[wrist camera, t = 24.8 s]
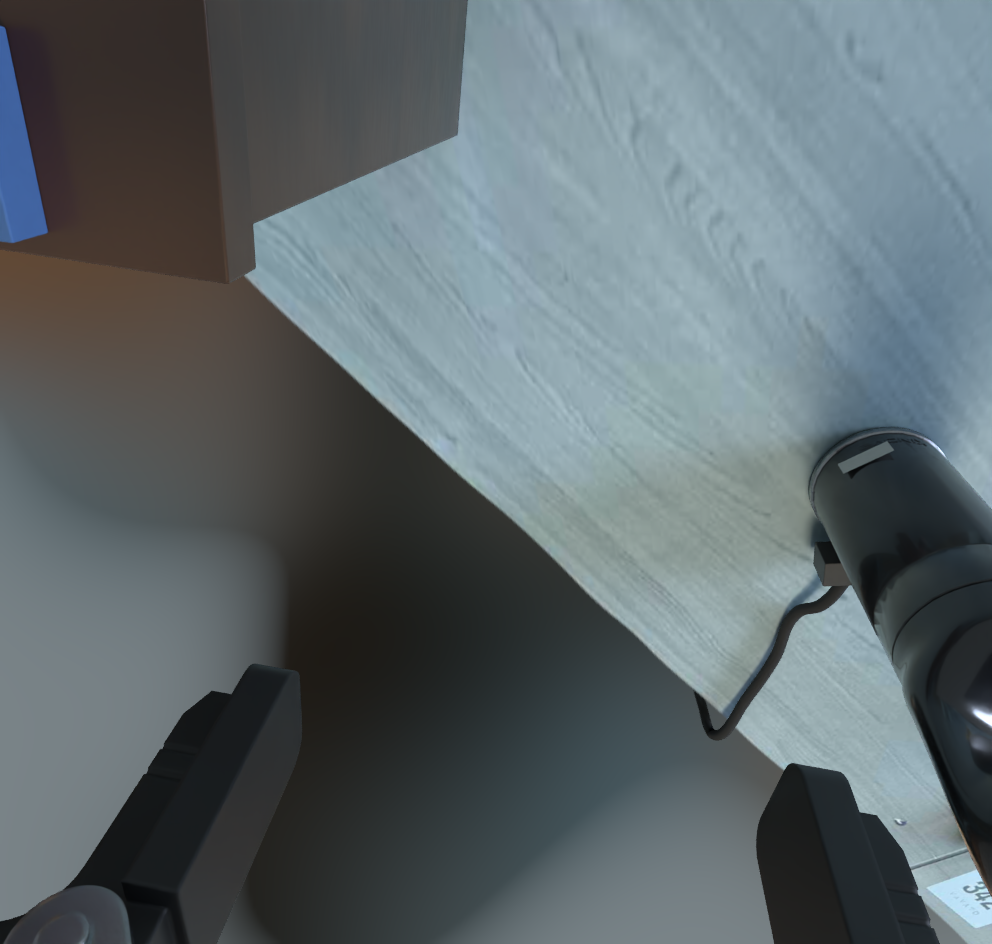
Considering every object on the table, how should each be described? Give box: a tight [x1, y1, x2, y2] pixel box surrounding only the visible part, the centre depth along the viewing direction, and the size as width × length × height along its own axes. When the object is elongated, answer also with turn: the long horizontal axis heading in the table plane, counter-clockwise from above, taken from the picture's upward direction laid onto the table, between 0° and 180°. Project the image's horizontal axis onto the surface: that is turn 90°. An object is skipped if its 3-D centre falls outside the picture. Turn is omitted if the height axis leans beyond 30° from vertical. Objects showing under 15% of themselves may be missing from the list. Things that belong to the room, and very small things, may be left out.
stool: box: [0, 0, 468, 284], centre depth 28 cm, size 11×18×32 cm, turn 83°
